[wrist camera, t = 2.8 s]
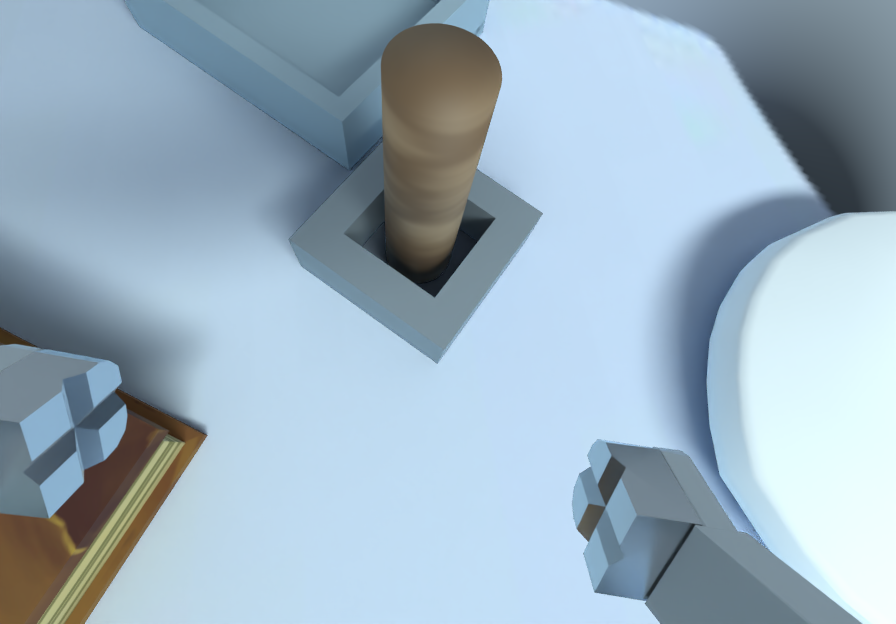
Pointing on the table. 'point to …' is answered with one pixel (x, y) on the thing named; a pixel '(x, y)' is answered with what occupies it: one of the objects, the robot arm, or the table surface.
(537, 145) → the table surface
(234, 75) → the tray
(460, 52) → the dowel
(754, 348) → the plate
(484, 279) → the socket block
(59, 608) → the diary
